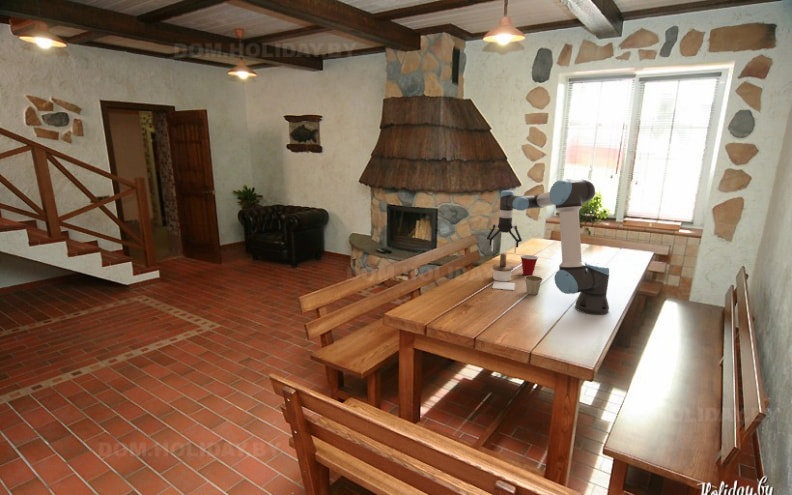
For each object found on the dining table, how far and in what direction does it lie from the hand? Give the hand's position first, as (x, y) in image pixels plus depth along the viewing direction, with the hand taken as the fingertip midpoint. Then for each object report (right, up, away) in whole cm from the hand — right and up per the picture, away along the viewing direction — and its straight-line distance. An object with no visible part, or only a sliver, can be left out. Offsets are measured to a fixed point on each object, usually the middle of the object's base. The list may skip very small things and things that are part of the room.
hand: (503, 251), depth 251 cm
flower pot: (+11, -23, -21) cm, 33 cm away
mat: (-2, -20, -10) cm, 22 cm away
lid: (0, -10, +2) cm, 11 cm away
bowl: (0, -17, +4) cm, 17 cm away
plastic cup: (+19, -15, +12) cm, 27 cm away
